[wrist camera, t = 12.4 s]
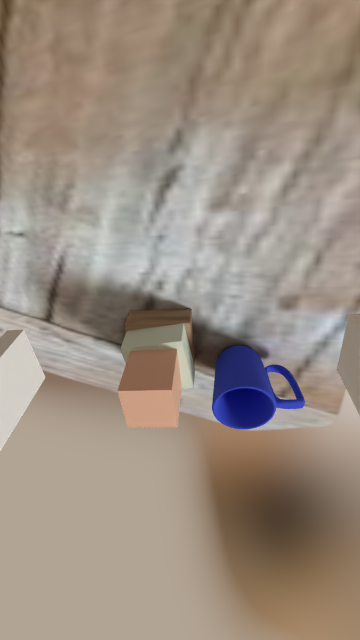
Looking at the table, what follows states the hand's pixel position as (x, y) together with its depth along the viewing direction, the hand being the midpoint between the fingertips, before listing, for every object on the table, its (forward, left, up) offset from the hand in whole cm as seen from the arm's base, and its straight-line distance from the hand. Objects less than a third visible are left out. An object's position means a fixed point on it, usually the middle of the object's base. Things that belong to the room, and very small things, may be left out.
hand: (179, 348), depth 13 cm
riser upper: (+19, -7, -25) cm, 32 cm away
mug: (+25, +6, -29) cm, 38 cm away
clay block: (+19, -7, -21) cm, 29 cm away
